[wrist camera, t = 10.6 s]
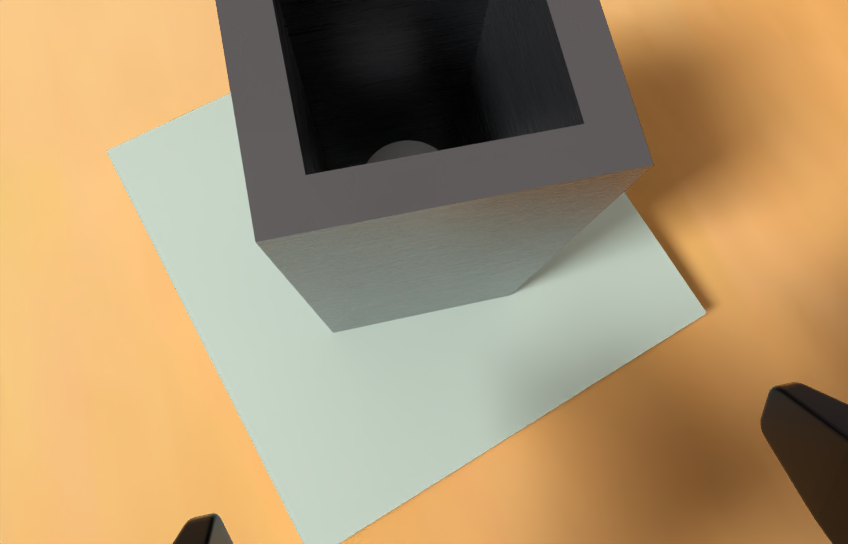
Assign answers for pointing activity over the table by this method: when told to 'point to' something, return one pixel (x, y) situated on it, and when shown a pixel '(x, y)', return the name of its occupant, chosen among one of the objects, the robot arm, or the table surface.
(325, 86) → the square open box
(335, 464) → the pin board
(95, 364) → the table surface
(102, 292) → the table surface
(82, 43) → the table surface
